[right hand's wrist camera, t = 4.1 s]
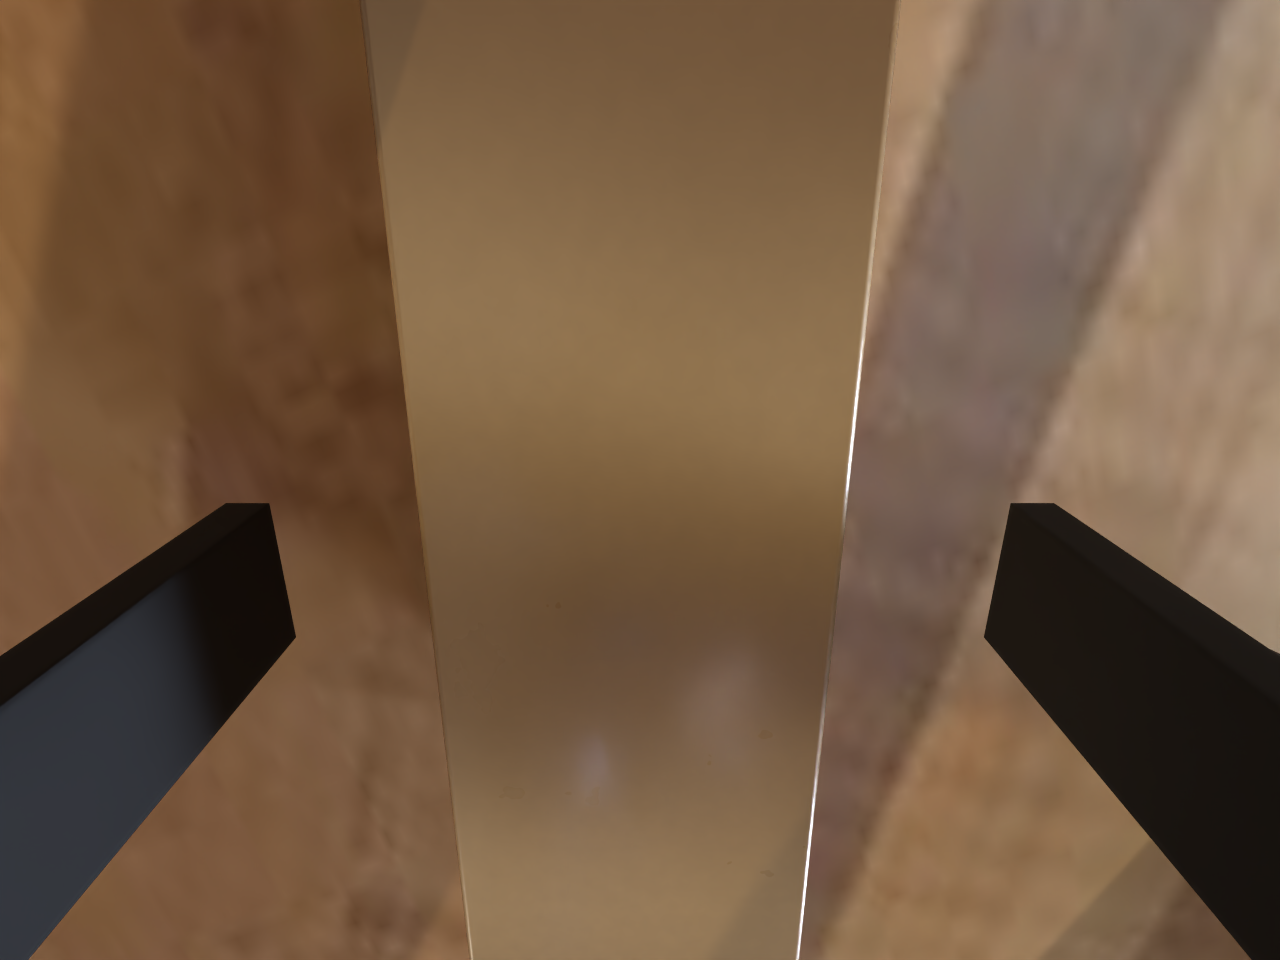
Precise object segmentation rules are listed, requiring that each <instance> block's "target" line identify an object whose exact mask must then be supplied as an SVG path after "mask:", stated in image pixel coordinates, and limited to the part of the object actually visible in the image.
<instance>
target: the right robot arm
mask: <svg viewBox="0 0 1280 960" xmlns="http://www.w3.org/2000/svg"><path fill="white" fill-rule="evenodd" d="M295 638H296V635H295V630H294V625H293V620H292V615H291V610H290V605H289V600H288V595H287V590H286V585H285V580H284V575H283V570H282V565H281V560H280V555H279V550H278V545H277V540H276V535H275V530H274V525H273V520H272V515H271V510H270V505H269V503H226V504H224V505H223V506H221V507H220V508H218V509H217V510H215V511H214V512H212V513H211V514H209V515H208V516H206V517H205V518H203V519H202V520H201V521H199V522H198V523H196V524H195V525H193V526H192V527H190V528H189V529H187V530H186V531H184V532H183V533H181V534H180V535H178V536H177V537H175V538H174V539H172V540H171V541H170V542H168V543H167V544H165V545H164V546H162V547H161V548H159V549H158V550H156V551H155V552H153V553H152V554H150V555H149V556H147V557H146V558H144V559H143V560H141V561H140V562H139V563H137V564H136V565H134V566H133V567H131V568H130V569H128V570H127V571H125V572H124V573H122V574H121V575H119V576H118V577H116V578H115V579H113V580H112V581H110V582H109V583H108V584H106V585H105V586H103V587H102V588H100V589H99V590H97V591H96V592H94V593H93V594H91V595H90V596H88V597H87V598H85V599H84V600H82V601H81V602H80V603H78V604H77V605H75V606H74V607H72V608H71V609H69V610H68V611H66V612H65V613H63V614H62V615H60V616H59V617H57V618H56V619H54V620H53V621H51V622H50V623H49V624H47V625H46V626H44V627H43V628H41V629H40V630H38V631H37V632H35V633H34V634H32V635H31V636H29V637H28V638H26V639H25V640H23V641H22V642H20V643H19V644H18V645H16V646H15V647H13V648H12V649H10V650H9V651H7V652H6V653H4V654H3V655H1V656H0V960H28V959H29V958H30V957H31V956H32V955H33V953H34V952H35V951H36V950H37V948H38V947H39V946H40V945H41V944H42V942H43V941H44V940H45V939H46V938H47V936H48V935H49V934H50V933H51V932H52V930H53V929H54V928H55V927H56V926H57V924H58V923H59V922H60V921H61V920H62V918H63V917H64V916H65V915H66V914H67V912H68V911H69V910H70V909H71V908H72V906H73V905H74V904H75V903H76V902H77V900H78V899H79V898H80V897H81V895H82V894H83V893H84V892H85V891H86V889H87V888H88V887H89V886H90V885H91V883H92V882H93V881H94V880H95V879H96V877H97V876H98V875H99V874H100V873H101V871H102V870H103V869H104V868H105V867H106V865H107V864H108V863H109V862H110V861H111V859H112V858H113V857H114V856H115V855H116V853H117V852H118V851H119V850H120V849H121V847H122V846H123V845H124V844H125V842H126V841H127V840H128V839H129V838H130V836H131V835H132V834H133V833H134V832H135V830H136V829H137V828H138V827H139V826H140V824H141V823H142V822H143V821H144V820H145V818H146V817H147V816H148V815H149V814H150V812H151V811H152V810H153V809H154V808H155V806H156V805H157V804H158V803H159V802H160V800H161V799H162V798H163V797H164V796H165V794H166V793H167V792H168V791H169V789H170V788H171V787H172V786H173V785H174V783H175V782H176V781H177V780H178V779H179V777H180V776H181V775H182V774H183V773H184V771H185V770H186V769H187V768H188V767H189V765H190V764H191V763H192V762H193V761H194V759H195V758H196V757H197V756H198V755H199V753H200V752H201V751H202V750H203V749H204V747H205V746H206V745H207V744H208V743H209V741H210V740H211V739H212V738H213V736H214V735H215V734H216V733H217V732H218V730H219V729H220V728H221V727H222V726H223V724H224V723H225V722H226V721H227V720H228V718H229V717H230V716H231V715H232V714H233V712H234V711H235V710H236V709H237V708H238V706H239V705H240V704H241V703H242V702H243V700H244V699H245V698H246V697H247V696H248V694H249V693H250V692H251V691H252V690H253V688H254V687H255V686H256V685H257V683H258V682H259V681H260V680H261V679H262V677H263V676H264V675H265V674H266V673H267V671H268V670H269V669H270V668H271V667H272V665H273V664H274V663H275V662H276V661H277V659H278V658H279V657H280V656H281V655H282V653H283V652H284V651H285V650H286V649H287V647H288V646H289V645H290V644H291V643H292V641H293V640H294V639H295ZM984 638H985V639H986V640H987V641H988V643H989V644H990V645H991V646H992V647H993V649H994V650H995V651H996V652H997V653H998V655H999V656H1000V657H1001V658H1002V659H1003V661H1004V662H1005V663H1006V664H1007V665H1008V667H1009V668H1010V669H1011V670H1012V671H1013V673H1014V674H1015V675H1016V676H1017V677H1018V679H1019V680H1020V681H1021V682H1022V683H1023V685H1024V686H1025V687H1026V688H1027V690H1028V691H1029V692H1030V693H1031V694H1032V696H1033V697H1034V698H1035V699H1036V700H1037V702H1038V703H1039V704H1040V705H1041V706H1042V708H1043V709H1044V710H1045V711H1046V712H1047V714H1048V715H1049V716H1050V717H1051V718H1052V720H1053V721H1054V722H1055V723H1056V724H1057V726H1058V727H1059V728H1060V729H1061V730H1062V732H1063V733H1064V734H1065V735H1066V736H1067V738H1068V739H1069V740H1070V741H1071V743H1072V744H1073V745H1074V746H1075V747H1076V749H1077V750H1078V751H1079V752H1080V753H1081V755H1082V756H1083V757H1084V758H1085V759H1086V761H1087V762H1088V763H1089V764H1090V765H1091V767H1092V768H1093V769H1094V770H1095V771H1096V773H1097V774H1098V775H1099V776H1100V777H1101V779H1102V780H1103V781H1104V782H1105V783H1106V785H1107V786H1108V787H1109V788H1110V789H1111V791H1112V792H1113V793H1114V794H1115V796H1116V797H1117V798H1118V799H1119V800H1120V802H1121V803H1122V804H1123V805H1124V806H1125V808H1126V809H1127V810H1128V811H1129V812H1130V814H1131V815H1132V816H1133V817H1134V818H1135V820H1136V821H1137V822H1138V823H1139V824H1140V826H1141V827H1142V828H1143V829H1144V830H1145V832H1146V833H1147V834H1148V835H1149V836H1150V838H1151V839H1152V840H1153V841H1154V842H1155V844H1156V845H1157V846H1158V847H1159V849H1160V850H1161V851H1162V852H1163V853H1164V855H1165V856H1166V857H1167V858H1168V859H1169V861H1170V862H1171V863H1172V864H1173V865H1174V867H1175V868H1176V869H1177V870H1178V871H1179V873H1180V874H1181V875H1182V876H1183V877H1184V879H1185V880H1186V881H1187V882H1188V883H1189V885H1190V886H1191V887H1192V888H1193V889H1194V891H1195V892H1196V893H1197V894H1198V895H1199V897H1200V898H1201V899H1202V900H1203V902H1204V903H1205V904H1206V905H1207V906H1208V908H1209V909H1210V910H1211V911H1212V912H1213V914H1214V915H1215V916H1216V917H1217V918H1218V920H1219V921H1220V922H1221V923H1222V924H1223V926H1224V927H1225V928H1226V929H1227V930H1228V932H1229V933H1230V934H1231V935H1232V936H1233V938H1234V939H1235V940H1236V941H1237V942H1238V944H1239V945H1240V946H1241V947H1242V948H1243V950H1244V951H1245V952H1246V953H1247V955H1248V956H1249V957H1250V958H1251V959H1252V960H1280V654H1279V653H1277V652H1275V651H1272V650H1270V649H1268V648H1267V647H1265V646H1264V645H1262V644H1261V643H1260V642H1258V641H1257V640H1255V639H1254V638H1252V637H1251V636H1249V635H1248V634H1246V633H1245V632H1243V631H1242V630H1240V629H1239V628H1237V627H1236V626H1234V625H1233V624H1231V623H1230V622H1229V621H1227V620H1226V619H1224V618H1223V617H1221V616H1220V615H1218V614H1217V613H1215V612H1214V611H1212V610H1211V609H1209V608H1208V607H1206V606H1205V605H1203V604H1202V603H1200V602H1199V601H1198V600H1196V599H1195V598H1193V597H1192V596H1190V595H1189V594H1187V593H1186V592H1184V591H1183V590H1181V589H1180V588H1178V587H1177V586H1175V585H1174V584H1172V583H1171V582H1170V581H1168V580H1167V579H1165V578H1164V577H1162V576H1161V575H1159V574H1158V573H1156V572H1155V571H1153V570H1152V569H1150V568H1149V567H1147V566H1146V565H1144V564H1143V563H1141V562H1140V561H1139V560H1137V559H1136V558H1134V557H1133V556H1131V555H1130V554H1128V553H1127V552H1125V551H1124V550H1122V549H1121V548H1119V547H1118V546H1116V545H1115V544H1113V543H1112V542H1110V541H1109V540H1108V539H1106V538H1105V537H1103V536H1102V535H1100V534H1099V533H1097V532H1096V531H1094V530H1093V529H1091V528H1090V527H1088V526H1087V525H1085V524H1084V523H1082V522H1081V521H1079V520H1078V519H1077V518H1075V517H1074V516H1072V515H1071V514H1069V513H1068V512H1066V511H1065V510H1063V509H1062V508H1060V507H1059V506H1057V505H1056V504H1054V503H1011V505H1010V510H1009V515H1008V520H1007V525H1006V530H1005V535H1004V540H1003V545H1002V550H1001V555H1000V560H999V565H998V570H997V575H996V580H995V585H994V590H993V595H992V600H991V605H990V610H989V615H988V620H987V625H986V630H985V635H984Z"/></svg>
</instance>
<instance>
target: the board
mask: <svg viewBox="0 0 1280 960" xmlns="http://www.w3.org/2000/svg"><path fill="white" fill-rule="evenodd" d="M359 1H360V10H361V19H362V28H363V36H364V45H365V54H366V62H367V71H368V80H369V89H370V97H371V106H372V115H373V123H374V132H375V141H376V149H377V158H378V167H379V176H380V184H381V193H382V202H383V210H384V219H385V228H386V237H387V245H388V254H389V263H390V271H391V280H392V289H393V298H394V306H395V315H396V324H397V332H398V341H399V350H400V359H401V367H402V376H403V385H404V393H405V402H406V411H407V419H408V428H409V437H410V446H411V454H412V463H413V472H414V480H415V489H416V498H417V507H418V515H419V524H420V533H421V541H422V550H423V559H424V568H425V576H426V585H427V594H428V602H429V611H430V620H431V629H432V637H433V646H434V655H435V663H436V672H437V681H438V689H439V698H440V707H441V716H442V724H443V733H444V742H445V750H446V759H447V768H448V777H449V785H450V794H451V803H452V811H453V820H454V829H455V838H456V846H457V855H458V864H459V872H460V881H461V890H462V899H463V907H464V916H465V925H466V933H467V942H468V951H469V959H470V960H799V952H800V943H801V933H802V924H803V915H804V905H805V896H806V887H807V877H808V868H809V859H810V849H811V840H812V830H813V821H814V812H815V802H816V793H817V784H818V774H819V765H820V756H821V746H822V737H823V727H824V718H825V709H826V699H827V690H828V681H829V671H830V662H831V653H832V643H833V634H834V624H835V615H836V606H837V596H838V587H839V578H840V568H841V559H842V550H843V540H844V531H845V521H846V512H847V503H848V493H849V484H850V475H851V465H852V456H853V447H854V437H855V428H856V418H857V409H858V400H859V390H860V381H861V372H862V362H863V353H864V344H865V334H866V325H867V315H868V306H869V297H870V287H871V278H872V269H873V259H874V250H875V241H876V231H877V222H878V212H879V203H880V194H881V184H882V175H883V166H884V156H885V147H886V138H887V128H888V119H889V109H890V100H891V91H892V81H893V72H894V63H895V53H896V44H897V35H898V25H899V16H900V6H901V0H359Z"/></svg>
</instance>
